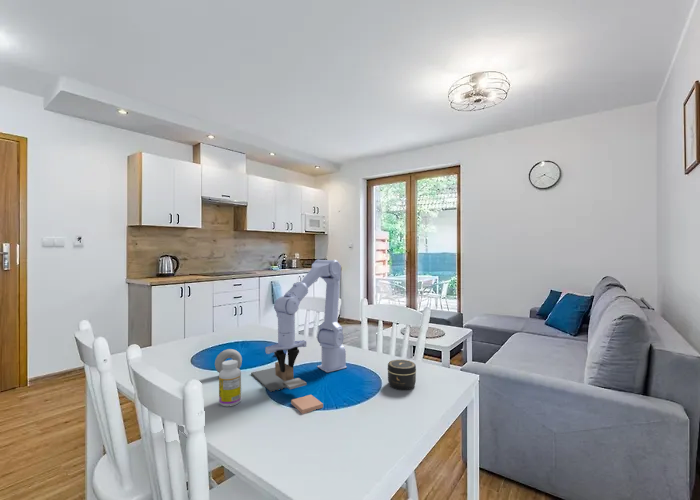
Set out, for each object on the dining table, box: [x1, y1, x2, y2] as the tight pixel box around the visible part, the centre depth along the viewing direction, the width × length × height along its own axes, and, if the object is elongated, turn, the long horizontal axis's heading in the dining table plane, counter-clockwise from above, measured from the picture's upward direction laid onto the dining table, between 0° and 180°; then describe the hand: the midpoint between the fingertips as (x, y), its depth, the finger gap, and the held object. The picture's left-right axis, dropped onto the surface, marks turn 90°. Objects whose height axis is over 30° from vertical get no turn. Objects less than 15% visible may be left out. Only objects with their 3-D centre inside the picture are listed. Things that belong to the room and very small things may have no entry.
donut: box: [214, 348, 243, 374], centre depth 133 cm, size 10×4×10 cm, turn 119°
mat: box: [251, 367, 288, 392], centre depth 129 cm, size 11×20×1 cm, turn 34°
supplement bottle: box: [218, 359, 242, 407], centre depth 110 cm, size 7×7×13 cm
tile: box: [290, 394, 324, 415], centre depth 107 cm, size 7×2×8 cm
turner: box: [274, 361, 308, 390], centre depth 119 cm, size 16×6×4 cm, turn 35°
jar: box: [387, 359, 417, 391], centre depth 123 cm, size 10×10×8 cm
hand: (286, 370), depth 120 cm, fingers closed on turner, 2 cm apart
